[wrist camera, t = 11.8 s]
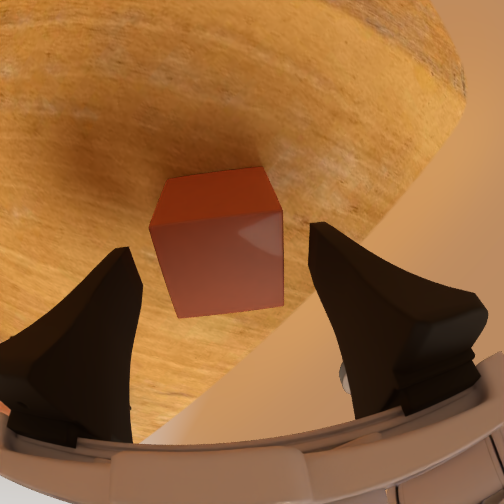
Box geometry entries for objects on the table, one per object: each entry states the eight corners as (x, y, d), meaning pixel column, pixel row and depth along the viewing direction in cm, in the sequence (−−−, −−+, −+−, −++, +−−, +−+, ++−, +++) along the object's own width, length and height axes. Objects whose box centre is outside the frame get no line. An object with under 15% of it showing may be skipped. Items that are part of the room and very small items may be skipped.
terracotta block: (263, 165, 13) (283, 209, 10) (267, 246, 16) (284, 306, 12) (166, 178, 13) (147, 227, 9) (184, 256, 16) (177, 319, 12)
